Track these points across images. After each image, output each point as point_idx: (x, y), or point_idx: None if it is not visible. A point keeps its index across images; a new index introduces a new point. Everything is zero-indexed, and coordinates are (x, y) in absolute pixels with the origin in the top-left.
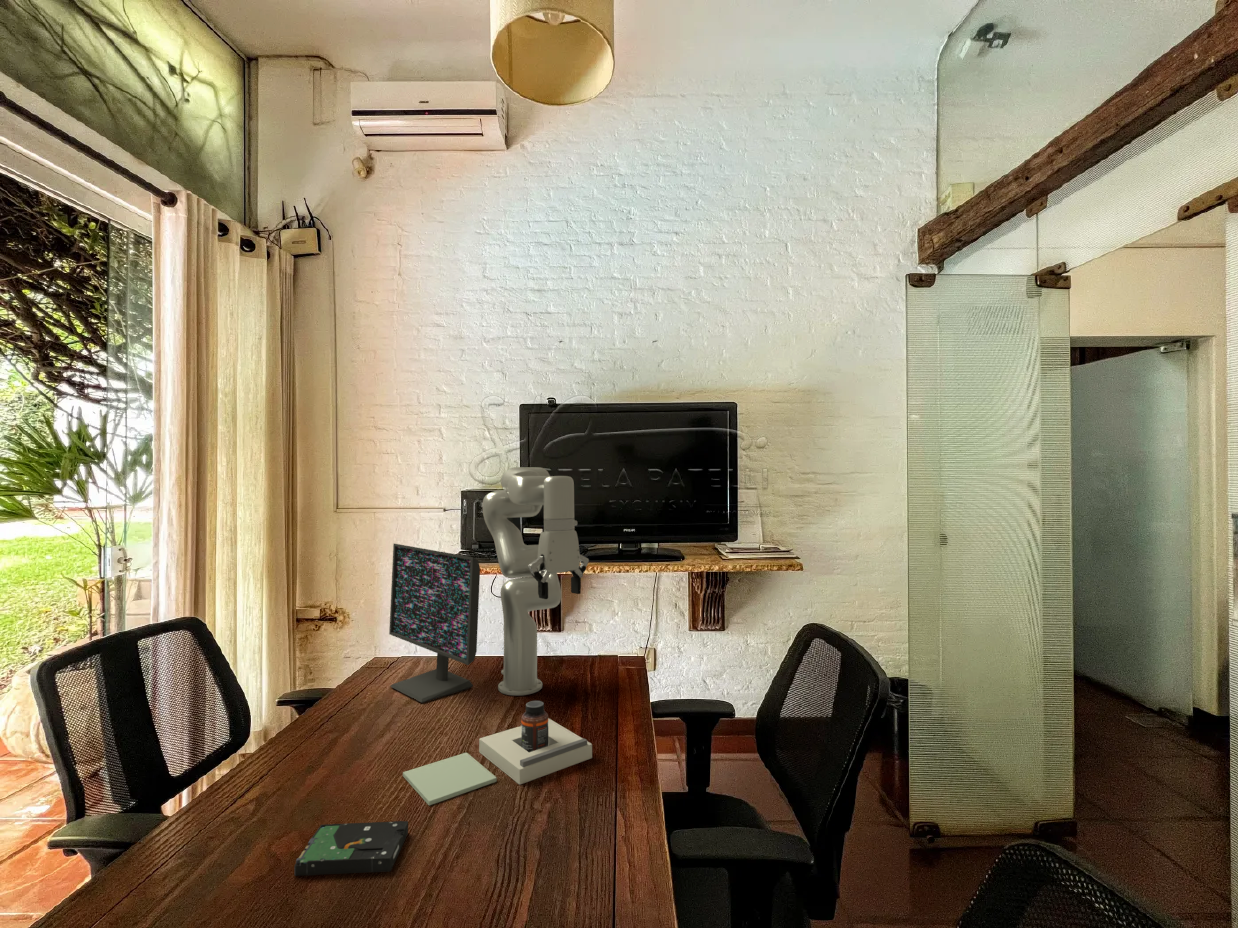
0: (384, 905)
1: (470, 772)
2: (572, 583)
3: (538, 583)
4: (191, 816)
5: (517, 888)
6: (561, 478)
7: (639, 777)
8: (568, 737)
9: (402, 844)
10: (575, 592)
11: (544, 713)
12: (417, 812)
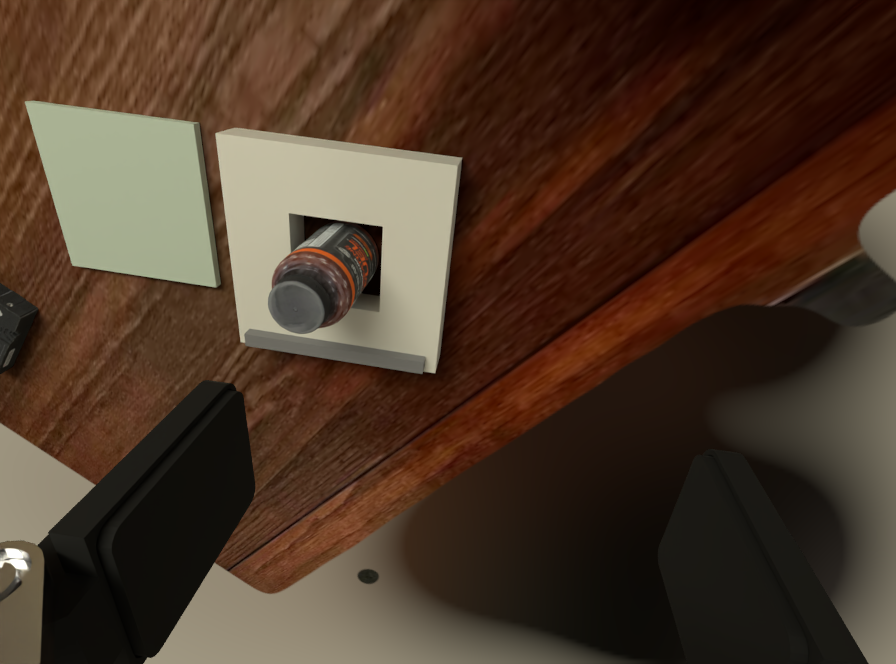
0: (6, 412)
1: (173, 227)
2: (733, 579)
3: (45, 554)
4: None
5: None
6: None
7: (452, 460)
8: (416, 309)
9: (27, 331)
10: (673, 525)
11: (329, 317)
12: (56, 266)
